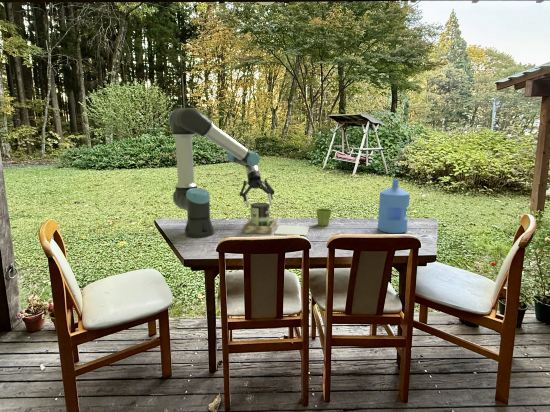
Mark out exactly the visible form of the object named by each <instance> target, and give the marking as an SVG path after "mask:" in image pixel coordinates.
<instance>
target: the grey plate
mask: <svg viewBox="0 0 550 412" xmlns="http://www.w3.org/2000/svg"><path fill="white" fill-rule="evenodd" d="M309 230H310V226H303V225H289V224H288V225H286V224H279V225H278V226H277V229H276V230H275V232H274V235H277V236H293V235H304V236H303V237H307V236H308V234H307V233H309Z"/></svg>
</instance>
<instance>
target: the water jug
mask: <svg viewBox="0 0 550 412" xmlns="http://www.w3.org/2000/svg"><path fill="white" fill-rule="evenodd" d="M410 198H411V197H410V193H409V192H408V191H406V190H404V189H402V188H400V187H399V179H392V185H391V187H389V188H386V189H384V190H381V191H380V192H379V198H378V199H379V204H378V217H377V218H378V221H377V229H378V230H379V231H381V232H383V233H386V232H387V233H388V234H403V232H404V233H406V232H407V231H408V220H409V219H408V218H407V208H408V207H409V206H410V200H411V199H410Z"/></svg>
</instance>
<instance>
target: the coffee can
mask: <svg viewBox="0 0 550 412" xmlns="http://www.w3.org/2000/svg"><path fill="white" fill-rule="evenodd" d="M250 219H251V226H263V227H269V220H270V203H268V202H254V203H251V204H250Z"/></svg>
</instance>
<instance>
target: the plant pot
mask: <svg viewBox="0 0 550 412" xmlns="http://www.w3.org/2000/svg"><path fill="white" fill-rule="evenodd" d="M315 212H316V219H317V225H318V226H321V227H323V226H324V227H325V226H329V225H330V220H331V214H332V212H333V210H332V209H330V208H316V209H315Z"/></svg>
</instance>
